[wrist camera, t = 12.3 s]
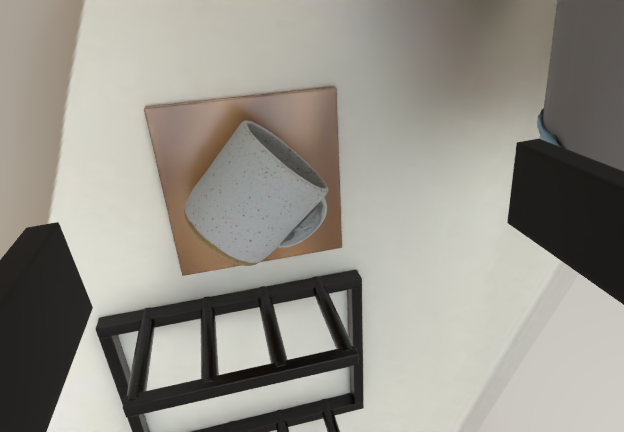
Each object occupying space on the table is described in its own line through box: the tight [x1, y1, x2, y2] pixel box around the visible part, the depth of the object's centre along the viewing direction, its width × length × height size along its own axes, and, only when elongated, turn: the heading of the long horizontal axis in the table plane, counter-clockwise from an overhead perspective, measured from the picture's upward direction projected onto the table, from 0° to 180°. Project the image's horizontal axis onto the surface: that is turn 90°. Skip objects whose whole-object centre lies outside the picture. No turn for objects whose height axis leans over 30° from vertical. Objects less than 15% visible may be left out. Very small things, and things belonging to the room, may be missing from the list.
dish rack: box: [96, 270, 363, 432], centre depth 38 cm, size 23×17×10 cm
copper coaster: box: [144, 87, 342, 276], centre depth 35 cm, size 14×14×1 cm
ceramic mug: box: [184, 121, 328, 266], centre depth 32 cm, size 11×8×8 cm
